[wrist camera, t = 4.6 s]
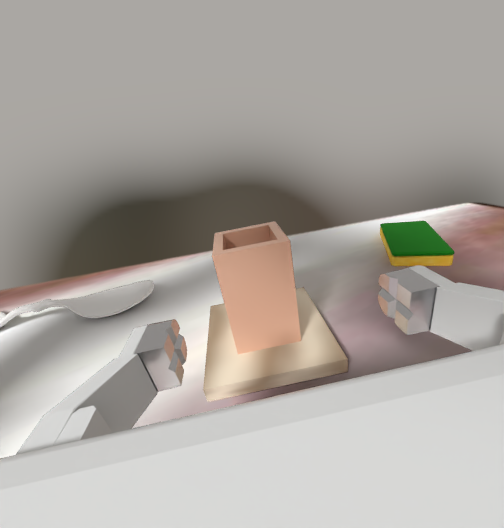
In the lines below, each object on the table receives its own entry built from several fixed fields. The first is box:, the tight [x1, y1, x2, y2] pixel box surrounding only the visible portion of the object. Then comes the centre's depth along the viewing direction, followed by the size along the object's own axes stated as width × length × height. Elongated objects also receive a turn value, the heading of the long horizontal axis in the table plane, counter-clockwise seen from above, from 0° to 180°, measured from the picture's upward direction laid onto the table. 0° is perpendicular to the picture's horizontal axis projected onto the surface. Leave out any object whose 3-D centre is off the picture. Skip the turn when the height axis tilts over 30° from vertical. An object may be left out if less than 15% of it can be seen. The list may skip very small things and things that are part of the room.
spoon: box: [0, 280, 154, 327], centre depth 37 cm, size 9×32×4 cm, turn 96°
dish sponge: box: [380, 221, 454, 266], centre depth 39 cm, size 7×14×2 cm, turn 161°
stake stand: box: [203, 287, 348, 402], centre depth 24 cm, size 12×12×8 cm
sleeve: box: [212, 221, 301, 354], centre depth 23 cm, size 6×6×10 cm
